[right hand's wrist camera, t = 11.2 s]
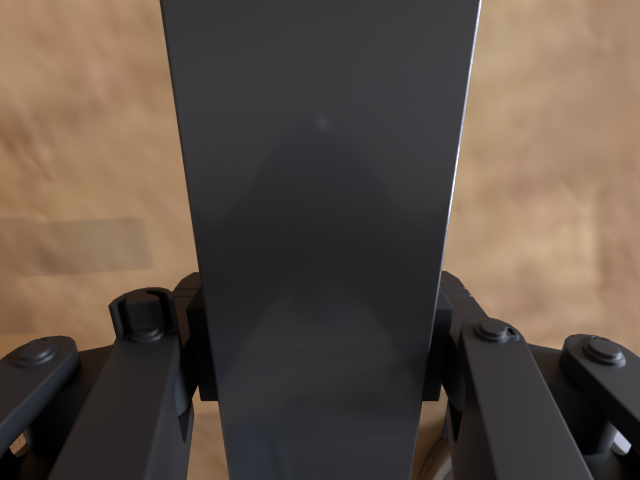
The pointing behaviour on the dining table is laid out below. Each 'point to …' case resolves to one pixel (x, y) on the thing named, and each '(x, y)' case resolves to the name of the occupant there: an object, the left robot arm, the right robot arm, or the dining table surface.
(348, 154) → the rail
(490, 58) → the dining table surface
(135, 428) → the right robot arm
